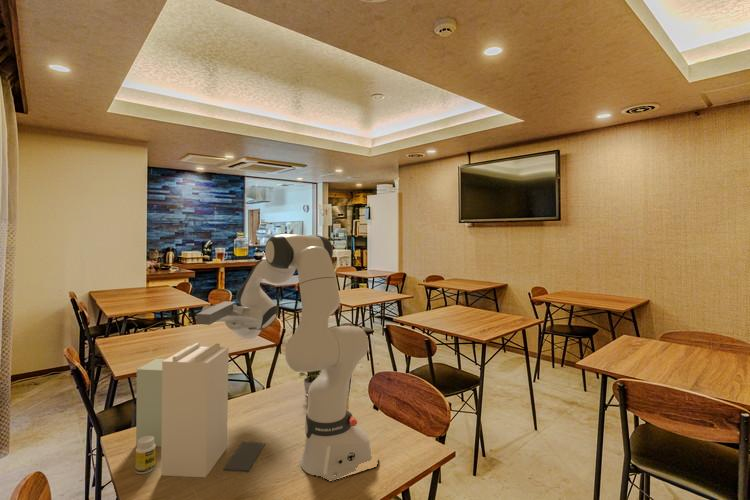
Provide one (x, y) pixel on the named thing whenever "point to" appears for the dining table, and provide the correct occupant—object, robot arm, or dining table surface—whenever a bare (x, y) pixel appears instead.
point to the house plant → (310, 378)
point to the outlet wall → (194, 410)
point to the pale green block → (149, 401)
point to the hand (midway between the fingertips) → (225, 306)
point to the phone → (244, 457)
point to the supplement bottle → (145, 455)
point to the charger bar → (214, 313)
